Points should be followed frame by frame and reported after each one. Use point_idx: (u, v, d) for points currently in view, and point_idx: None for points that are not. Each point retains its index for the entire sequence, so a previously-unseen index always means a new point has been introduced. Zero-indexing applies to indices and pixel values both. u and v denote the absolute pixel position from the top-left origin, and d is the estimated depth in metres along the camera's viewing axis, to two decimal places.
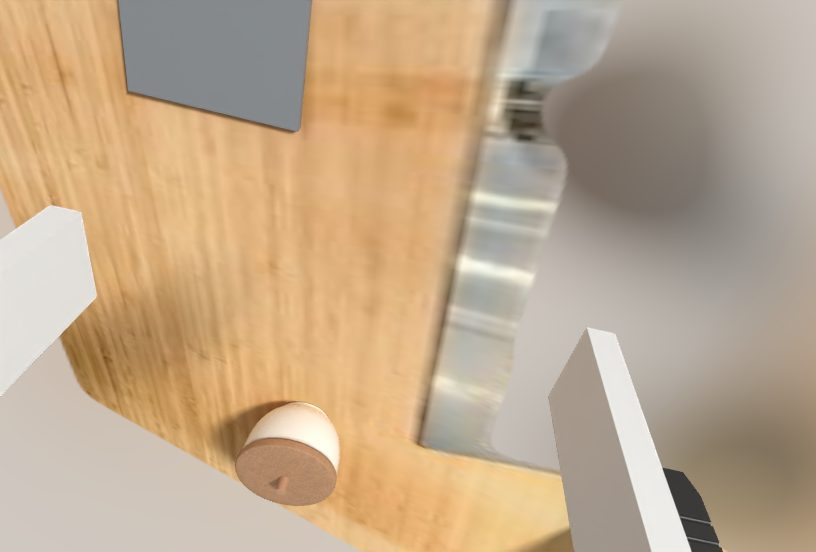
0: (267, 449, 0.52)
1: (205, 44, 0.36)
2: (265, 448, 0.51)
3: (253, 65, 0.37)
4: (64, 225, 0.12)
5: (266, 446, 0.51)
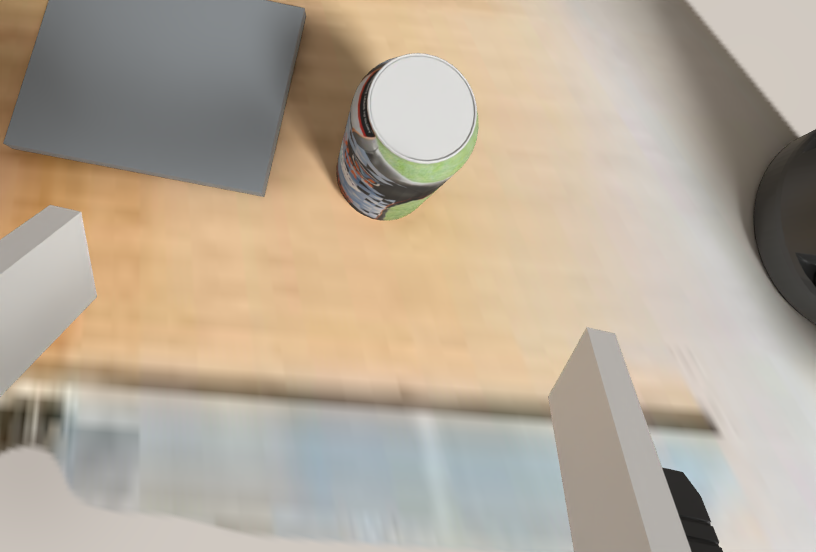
0: None
1: (110, 55, 0.33)
2: None
3: (86, 103, 0.32)
4: (64, 225, 0.12)
5: None
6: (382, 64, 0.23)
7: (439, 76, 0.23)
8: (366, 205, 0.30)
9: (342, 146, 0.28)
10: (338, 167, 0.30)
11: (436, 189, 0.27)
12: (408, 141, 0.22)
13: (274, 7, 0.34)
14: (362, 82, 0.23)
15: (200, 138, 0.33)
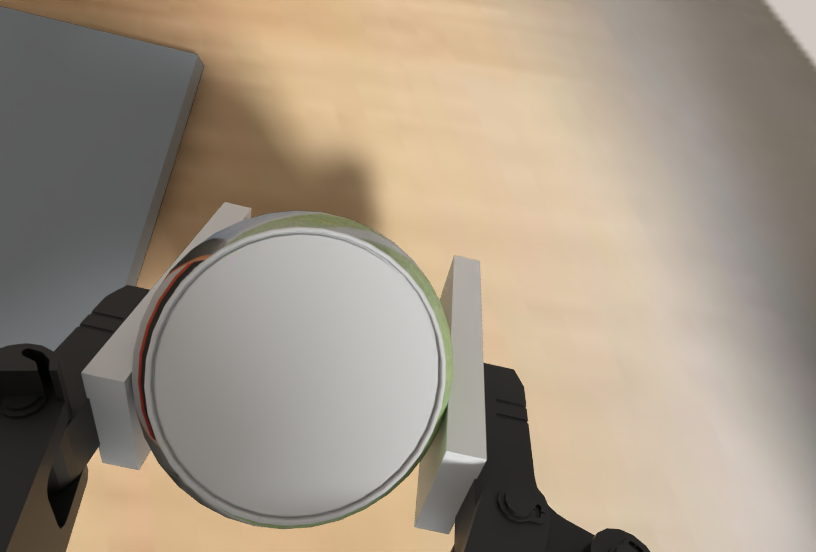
0: None
1: None
2: None
3: None
4: (243, 219, 0.14)
5: None
6: (214, 242, 0.09)
7: (351, 282, 0.09)
8: None
9: None
10: None
11: None
12: (260, 468, 0.08)
13: (146, 51, 0.20)
14: (162, 286, 0.09)
15: None
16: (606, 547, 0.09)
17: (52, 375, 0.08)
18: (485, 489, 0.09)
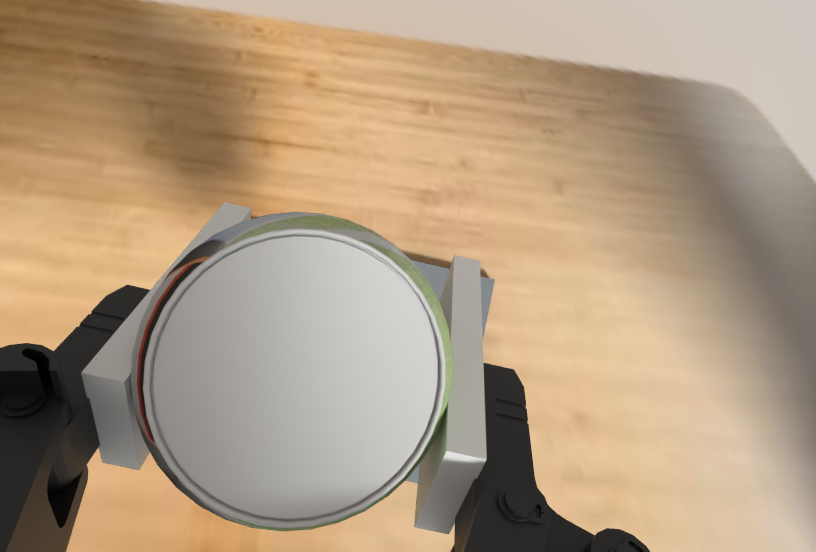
0: None
1: None
2: None
3: None
4: (243, 219, 0.14)
5: None
6: (213, 243, 0.09)
7: (350, 284, 0.09)
8: None
9: None
10: None
11: None
12: (259, 470, 0.08)
13: None
14: (161, 287, 0.09)
15: None
16: (606, 547, 0.09)
17: (52, 375, 0.08)
18: (485, 489, 0.09)
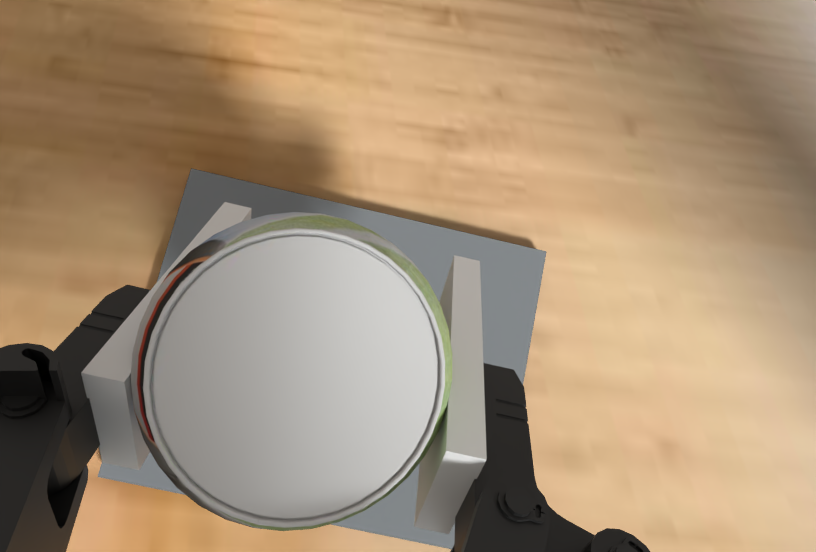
0: None
1: None
2: None
3: None
4: (243, 219, 0.14)
5: None
6: (213, 244, 0.09)
7: (350, 284, 0.09)
8: None
9: None
10: None
11: None
12: (258, 471, 0.08)
13: (503, 250, 0.23)
14: (161, 287, 0.09)
15: None
16: (606, 547, 0.09)
17: (52, 375, 0.08)
18: (485, 489, 0.09)
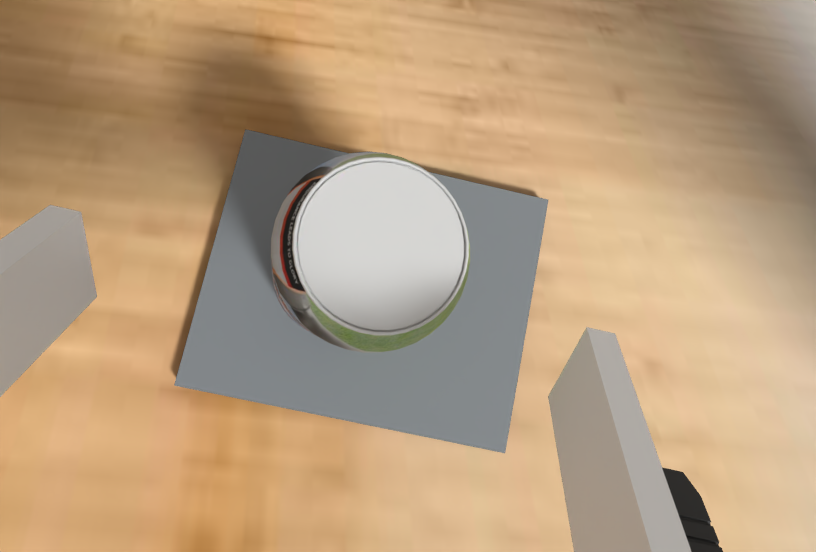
0: None
1: None
2: None
3: (279, 328, 0.25)
4: (64, 225, 0.12)
5: None
6: (323, 169, 0.15)
7: (410, 193, 0.14)
8: None
9: None
10: None
11: None
12: (359, 301, 0.14)
13: (511, 198, 0.27)
14: (290, 196, 0.15)
15: (425, 377, 0.25)
16: None
17: None
18: None
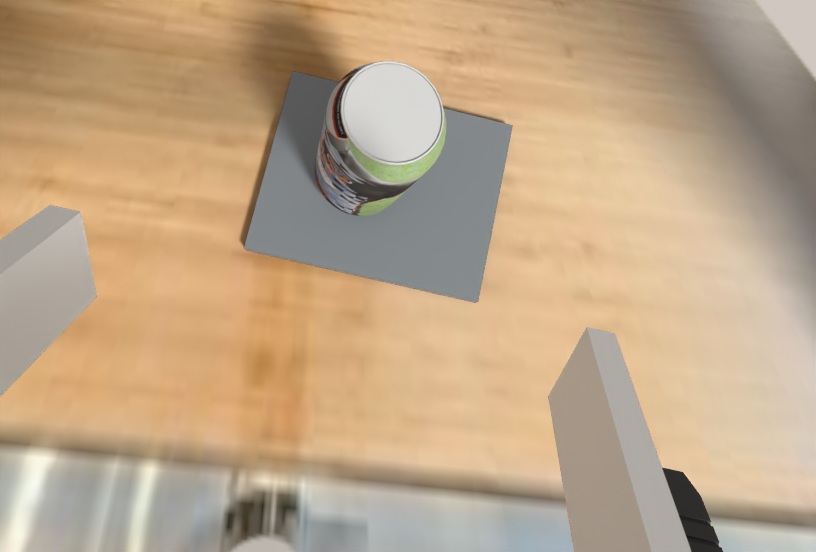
0: None
1: None
2: None
3: (317, 211, 0.35)
4: (64, 225, 0.12)
5: None
6: (357, 70, 0.24)
7: (409, 83, 0.24)
8: (341, 201, 0.31)
9: (319, 144, 0.29)
10: (316, 163, 0.32)
11: (406, 188, 0.28)
12: (379, 144, 0.24)
13: (485, 123, 0.37)
14: (337, 86, 0.24)
15: (421, 248, 0.35)
16: None
17: None
18: None
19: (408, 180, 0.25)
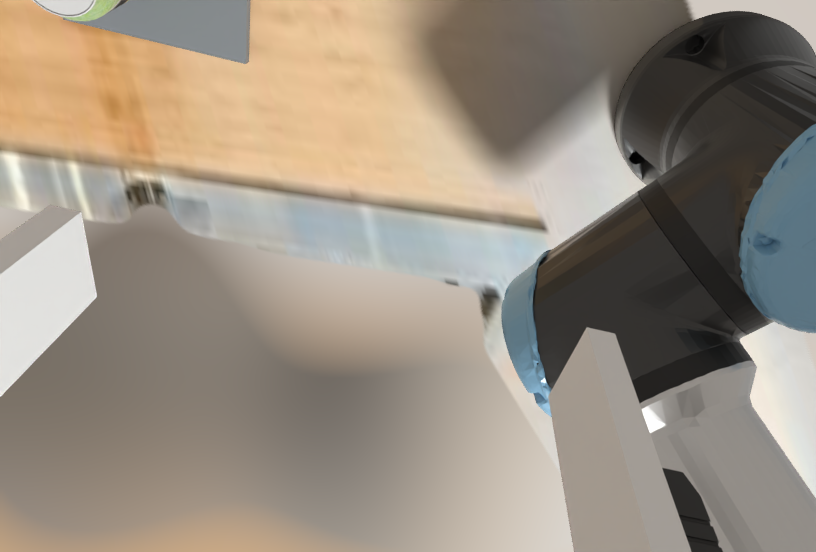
0: None
1: None
2: None
3: None
4: (64, 225, 0.12)
5: None
6: None
7: None
8: None
9: None
10: None
11: (124, 2, 0.37)
12: (54, 2, 0.33)
13: None
14: None
15: (193, 18, 0.44)
16: None
17: None
18: None
19: (98, 17, 0.35)
